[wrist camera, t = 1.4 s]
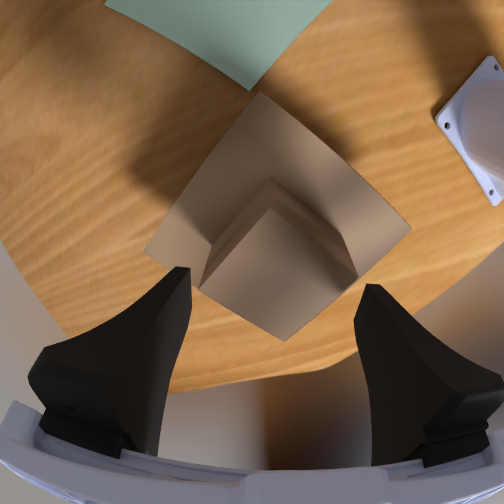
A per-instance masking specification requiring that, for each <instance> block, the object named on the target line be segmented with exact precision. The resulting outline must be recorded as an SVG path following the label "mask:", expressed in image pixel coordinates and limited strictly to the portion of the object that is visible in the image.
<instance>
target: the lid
mask: <svg viewBox="0 0 504 504" xmlns="http://www.w3.org/2000/svg"><path fill="white" fill-rule="evenodd" d="M411 230H412V228H411V227H410V226H409V224H408V223H407V222H406V221H405V220H404V219H403V218H402V217H401V216H400V214H399V213H398V212H397V211H396V210H395V209H394V208H393V207H392V206H391V205H390V204H389V203H388V202H387V201H386V200H385V199H384V198H383V197H382V196H381V195H380V194H379V193H378V192H377V191H376V190H375V189H374V188H373V187H372V186H371V185H370V184H369V183H368V182H367V181H366V180H365V179H364V178H363V177H362V176H361V175H360V174H359V173H358V172H356V171H355V170H354V169H353V168H352V167H351V166H350V165H349V164H348V163H347V162H346V161H345V160H344V159H342V158H341V157H340V156H339V155H338V154H337V153H336V152H335V151H334V150H332V149H331V148H330V147H329V146H328V145H327V144H326V143H324V142H323V141H322V140H321V139H320V138H319V137H317V136H316V135H315V134H314V133H313V132H312V131H310V130H309V129H308V128H307V127H306V126H304V125H303V124H302V123H301V122H299V121H298V120H297V119H296V118H294V117H293V116H292V115H291V114H289V113H288V112H287V111H286V110H284V109H283V108H282V107H281V106H279V105H278V104H277V103H275V102H274V101H273V100H271V99H270V98H269V97H267V96H266V95H265V94H263V93H262V92H261V91H259V92H258V93H257V94H256V96H255V97H254V98H253V99H252V100H251V102H250V103H249V104H248V105H247V106H246V108H245V109H244V110H243V111H242V113H241V114H240V115H239V116H238V118H237V119H236V120H235V121H234V123H233V124H232V125H231V127H230V128H229V129H228V130H227V132H226V133H225V134H224V136H223V137H222V138H221V140H220V141H219V142H218V143H217V145H216V146H215V147H214V149H213V150H212V151H211V153H210V154H209V155H208V157H207V158H206V160H205V161H204V162H203V164H202V165H201V166H200V168H199V169H198V171H197V172H196V173H195V175H194V176H193V177H192V179H191V180H190V182H189V183H188V185H187V186H186V187H185V189H184V190H183V192H182V193H181V195H180V196H179V197H178V199H177V200H176V202H175V203H174V205H173V206H172V208H171V209H170V211H169V212H168V214H167V215H166V217H165V218H164V220H163V221H162V223H161V224H160V226H159V227H158V229H157V230H156V232H155V233H154V235H153V237H152V238H151V240H150V241H149V243H148V244H147V246H146V248H145V249H144V251H143V253H145V254H146V255H148V256H149V257H151V258H152V259H154V260H155V261H157V262H158V263H160V264H161V265H163V266H164V267H166V268H167V269H169V270H170V271H171V270H172V269H173V268H174V267H176V266H179V267H188V268H191V284H192V285H194V286H195V287H197V288H198V291H200V292H201V293H203V294H205V295H206V296H208V297H209V298H211V299H213V300H214V301H216V302H218V303H219V304H221V305H222V306H224V307H226V308H227V309H229V310H231V311H232V312H234V313H236V314H237V315H239V316H241V317H242V318H244V319H246V320H247V321H249V322H251V323H253V324H254V325H256V326H258V327H259V328H261V329H263V330H265V331H266V332H268V333H270V334H272V335H273V336H275V337H277V338H279V339H280V340H282V341H284V340H285V341H286V340H287V339H289V338H290V337H291V336H293V335H294V334H295V333H296V332H298V331H299V330H300V329H301V328H302V327H304V326H305V325H306V324H307V323H309V322H310V321H311V320H312V319H313V318H315V317H316V316H317V315H318V314H320V313H321V312H322V311H323V310H324V309H325V308H327V307H328V306H329V305H330V304H331V303H333V302H334V301H335V300H336V299H337V298H338V297H340V296H341V295H342V294H343V293H344V292H345V291H346V290H348V289H349V288H350V287H351V286H352V285H353V284H354V283H355V282H357V281H358V280H359V279H360V278H361V277H362V276H363V275H364V274H365V273H367V272H368V271H369V270H370V269H371V268H372V267H373V266H374V265H375V264H376V263H377V262H379V261H380V260H381V259H382V258H383V257H384V256H385V255H386V254H387V253H388V252H389V251H390V250H391V249H392V248H393V247H394V246H395V245H396V244H398V243H399V242H400V241H401V240H402V239H403V238H404V237H405V236H406V235H407V234H408V233H409V232H410V231H411Z"/></svg>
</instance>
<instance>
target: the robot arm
mask: <svg viewBox="0 0 504 504" xmlns="http://www.w3.org/2000/svg"><path fill="white" fill-rule="evenodd" d="M494 65H495V67H496V70H495V68H494ZM435 122H436V124H437V125H438V127H439V128H440V129H441V130H442V132H443V133H444V134H445V136H446V137H447V138H448V140H449V141H450V142H451V144H452V145H453V146H454V148H455V149H456V151H457V152H458V153H459V155H460V156H461V158H462V159H463V161H464V162H465V163H466V165H467V166H468V168H469V169H470V171H471V172H472V174H473V176H474V177H475V179H476V180H477V182H478V183H479V185H480V187H481V188H482V190H483V192H484V193H485V195H486V197H487V198H488V200H489V202H490V203H491V204H492V205H493V206H497V205H498V204H499V203H500V201H501V200H504V71H503V69H502V68H501V66H500V65H499V63H498V62H497V60H496V59H495V58H494V57H493V56H487V57H486V58H485V59H484V60H483V62H482V63H481V64H480V65H479V66H478V68H477V69H476V70H475V71H474V72H473V73H472V75H471V76H470V77H469V78H468V79H467V80H466V82H465V83H464V84H463V85H462V86H461V87H460V89H459V90H458V91H457V92H456V93H455V94H454V96H453V97H452V98H451V99H450V100H449V101H448V102H447V104H446V105H445V106H444V107H443V108H442V109H441V110H440V111H439V113H438V114H437V115H436V117H435ZM446 122H447V124H448V126H447V128H446V129H445V127H444V126H445V123H446ZM490 190H491V192H490V193H489V191H490ZM191 310H192V294H191V268H188V267H179V266H176V267H174V268H173V269H172V270H171V271H170V272H169V273H168V274H167V275H166V276H165V277H163V278H162V279H161V280H160V281H159V282H158V283H157V284H156V285H155V286H154V287H153V288H151V289H150V290H149V291H148V292H147V293H146V294H145V295H143V296H142V297H141V298H140V299H138V300H137V301H136V302H135V303H133V304H132V305H131V306H130V307H128V308H127V309H126V310H124V311H123V312H121V313H120V314H118V315H116V316H115V317H113V318H112V319H110V320H108V321H106V322H105V323H103V324H101V325H99V326H97V327H95V328H94V329H92V330H90V331H87V332H85V333H83V334H81V335H78V336H76V337H74V338H71V339H68V340H66V341H63V342H60V343H56V344H54V345H50V346H47V347H44V349H43V350H42V352H41V353H40V355H39V356H38V358H37V360H36V361H35V363H34V365H33V367H32V368H31V370H30V372H29V374H28V381H29V384H30V386H31V388H32V390H33V391H34V392H35V394H36V395H37V396H38V398H39V399H40V401H41V402H42V403H43V405H44V406H45V407H46V410H45V412H44V414H43V415H42V414H41V413H39V412H38V411H36V410H35V409H32V408H30V407H28V406H26V405H24V404H22V403H19V402H17V401H13V402H12V404H11V405H10V407H9V409H8V411H7V413H6V415H5V417H4V419H3V421H2V423H1V425H0V462H1V463H3V464H4V465H5V466H6V467H8V468H9V469H10V470H12V471H13V472H14V473H16V474H17V475H19V476H20V477H21V478H23V479H25V480H26V481H28V482H30V483H32V484H34V485H36V486H38V487H40V488H41V489H43V490H46V491H48V492H50V493H52V494H54V495H56V496H58V497H60V498H62V499H64V500H66V501H69V502H71V503H73V504H474V503H476V502H478V501H481V500H483V499H485V498H487V497H489V496H491V495H493V494H494V493H496V492H498V491H499V490H501V489H502V488H504V428H503V429H500V430H497V431H495V432H493V433H491V434H489V435H487V434H486V431H485V430H486V429H487V428H488V427H489V425H488V422H487V419H488V418H489V417H490V416H491V415H492V414H493V413H494V412H495V411H496V410H497V409H498V408H499V407H500V405H501V404H502V403H503V402H504V382H503V379H502V378H501V376H500V375H499V374H497V373H495V372H492V371H490V370H488V369H486V368H483V367H481V366H479V365H477V364H475V363H474V362H472V361H470V360H468V359H466V358H465V357H463V356H461V355H460V354H458V353H457V352H455V351H454V350H452V349H451V348H449V347H448V346H446V345H445V344H443V343H442V342H441V341H440V340H438V339H437V338H436V337H435V336H433V335H432V334H431V333H430V332H429V331H427V330H426V329H425V328H424V327H423V326H422V325H421V324H420V323H419V322H417V321H416V320H415V319H414V318H413V317H412V316H411V315H410V314H409V313H408V312H407V311H406V310H405V309H404V308H403V307H402V306H401V305H400V304H399V303H398V302H397V301H396V300H395V299H394V298H393V297H392V296H391V295H390V294H389V293H388V292H387V291H386V290H385V289H384V288H383V287H382V286H381V285H380V284H366V286H365V289H364V292H363V295H362V298H361V301H360V304H359V306H358V309H357V312H356V315H355V317H354V329H355V337H356V342H357V346H358V350H359V354H360V358H361V361H362V366H363V369H364V373H365V377H366V381H367V386H368V391H369V400H370V409H371V424H372V462H371V467H357V468H345V469H330V470H302V471H301V470H289V471H288V470H279V471H261V470H244V469H233V468H223V467H214V466H207V465H200V464H192V463H186V462H181V461H175V460H170V459H165V458H160V457H157V455H158V446H159V438H160V432H161V425H162V418H163V413H164V408H165V402H166V397H167V392H168V387H169V383H170V378H171V375H172V371H173V368H174V365H175V363H176V360H177V357H178V354H179V351H180V348H181V345H182V343H183V340H184V337H185V334H186V331H187V328H188V324H189V319H190V315H191Z"/></svg>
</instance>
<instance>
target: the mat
mask: <svg viewBox="0 0 504 504" xmlns="http://www.w3.org/2000/svg"><path fill="white" fill-rule="evenodd" d="M332 1H333V0H107V1H106V2H105V3H104V5H105V6H107V7H109V8H111V9H113V10H115V11H117V12H120V13H122V14H124V15H126V16H128V17H130V18H131V19H133V20H135V21H137V22H139V23H141V24H143V25H145V26H147V27H149V28H150V29H152V30H154V31H156V32H158V33H159V34H161V35H163V36H165V37H166V38H168V39H170V40H172V41H173V42H175V43H177V44H178V45H180V46H182V47H183V48H185V49H187V50H188V51H190V52H192V53H193V54H195V55H196V56H198V57H200V58H201V59H203V60H204V61H206V62H207V63H209V64H210V65H212V66H214V67H215V68H217V69H218V70H220V71H221V72H223V73H224V74H225V75H227V76H228V77H230V78H231V79H233V80H234V81H236V82H237V83H239V84H240V85H241V86H243V87H244V88H246V89H247V90H248V91H250V90H251V89H252V88H253V87H254V85H255V84H256V83H257V82H258V81H259V80H260V78H261V77H262V76H263V75H264V74H265V72H266V71H267V70H268V69H269V68H270V67H271V66H272V64H273V63H274V62H275V61H276V60H277V59H278V58H279V56H280V55H281V54H282V53H283V52H284V51H285V50H286V49H287V48H288V46H289V45H290V44H291V43H292V42H293V41H294V40H295V39H296V38H297V37H298V36H299V35H300V34H301V32H302V31H303V30H304V29H305V28H306V27H307V26H308V25H309V24H310V23H311V22H312V21H313V20H314V19H315V18H316V17H317V16H318V15H319V14H320V13H321V12H322V11H323V10H324V9H325V8H326V7H327V6H328V5H329V4H330V3H331V2H332Z"/></svg>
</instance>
